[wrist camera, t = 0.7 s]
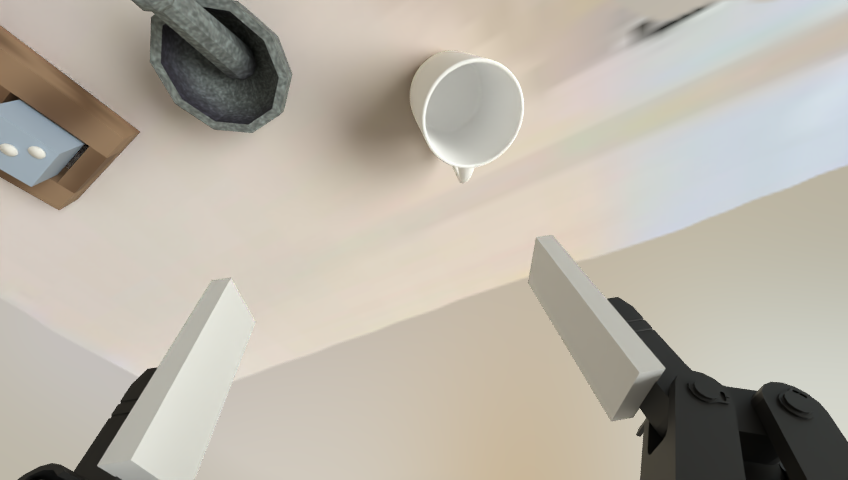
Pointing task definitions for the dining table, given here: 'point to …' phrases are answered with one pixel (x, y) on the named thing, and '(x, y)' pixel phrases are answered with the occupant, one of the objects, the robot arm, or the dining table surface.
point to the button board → (61, 119)
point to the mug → (466, 109)
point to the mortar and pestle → (218, 62)
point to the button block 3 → (33, 144)
